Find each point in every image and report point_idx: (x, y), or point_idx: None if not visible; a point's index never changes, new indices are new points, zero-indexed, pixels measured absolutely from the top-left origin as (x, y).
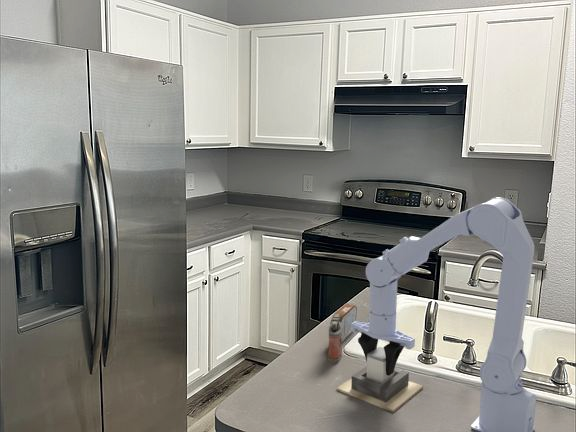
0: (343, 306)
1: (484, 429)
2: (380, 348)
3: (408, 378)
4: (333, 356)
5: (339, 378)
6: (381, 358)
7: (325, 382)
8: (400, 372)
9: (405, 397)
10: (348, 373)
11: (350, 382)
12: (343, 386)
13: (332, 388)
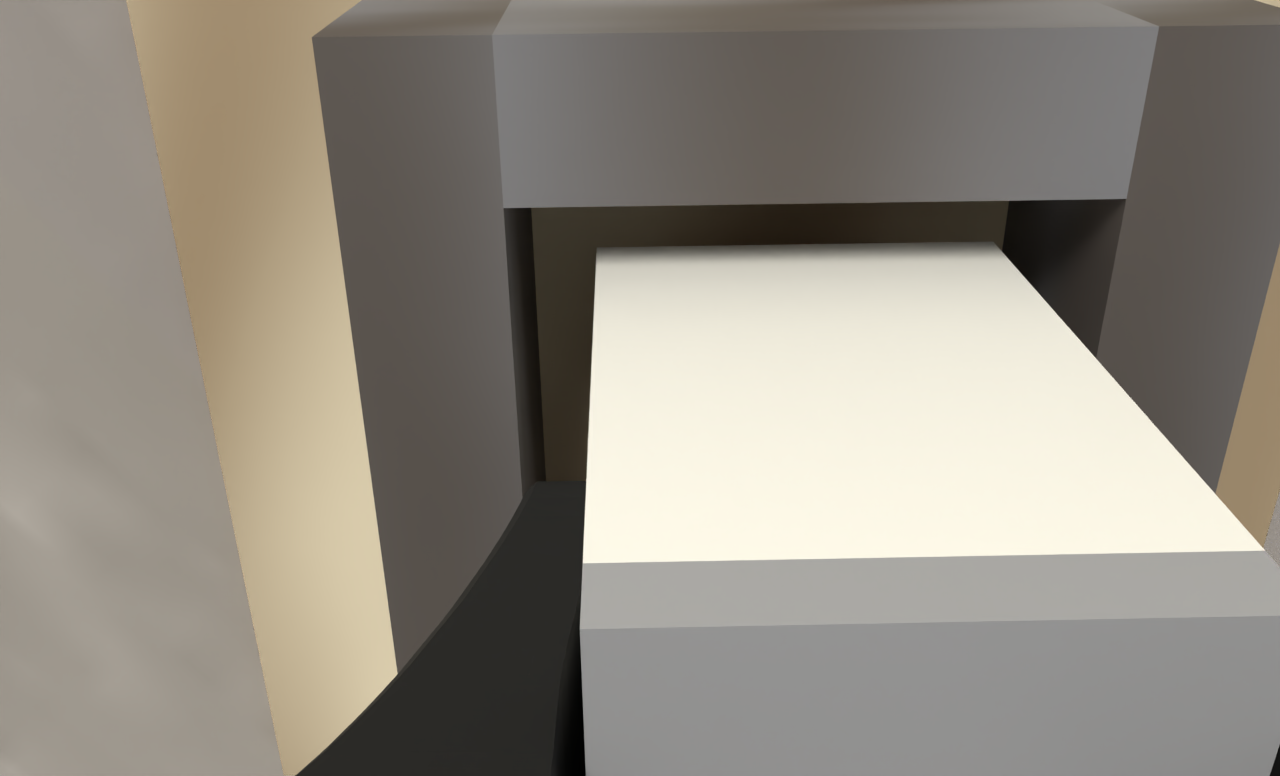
0: None
1: None
2: (715, 731)
3: (1247, 2)
4: None
5: (56, 494)
6: None
7: (24, 696)
8: (1149, 179)
9: (1258, 400)
10: (9, 265)
11: (311, 557)
12: (325, 701)
13: (222, 750)
